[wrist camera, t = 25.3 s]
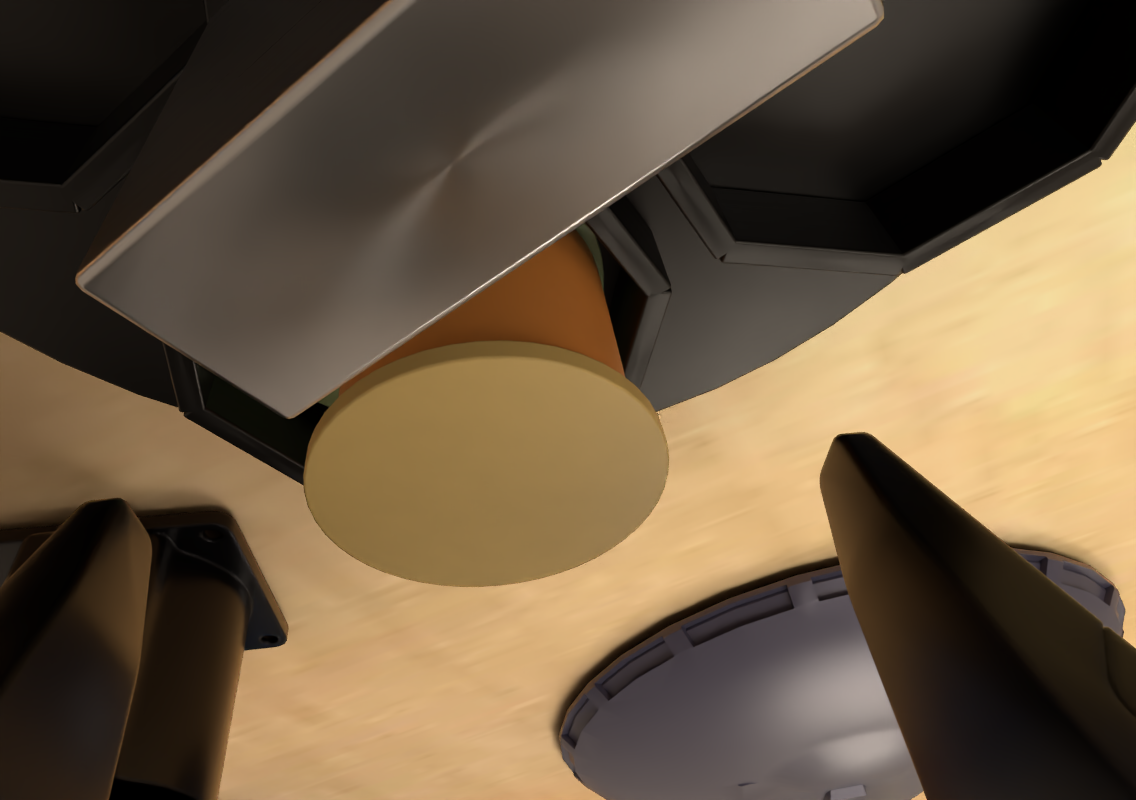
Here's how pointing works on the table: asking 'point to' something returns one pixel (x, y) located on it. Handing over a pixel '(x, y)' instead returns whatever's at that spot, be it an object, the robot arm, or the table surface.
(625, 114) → the cup holder
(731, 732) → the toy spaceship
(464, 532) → the coffee pod
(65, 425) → the table surface
